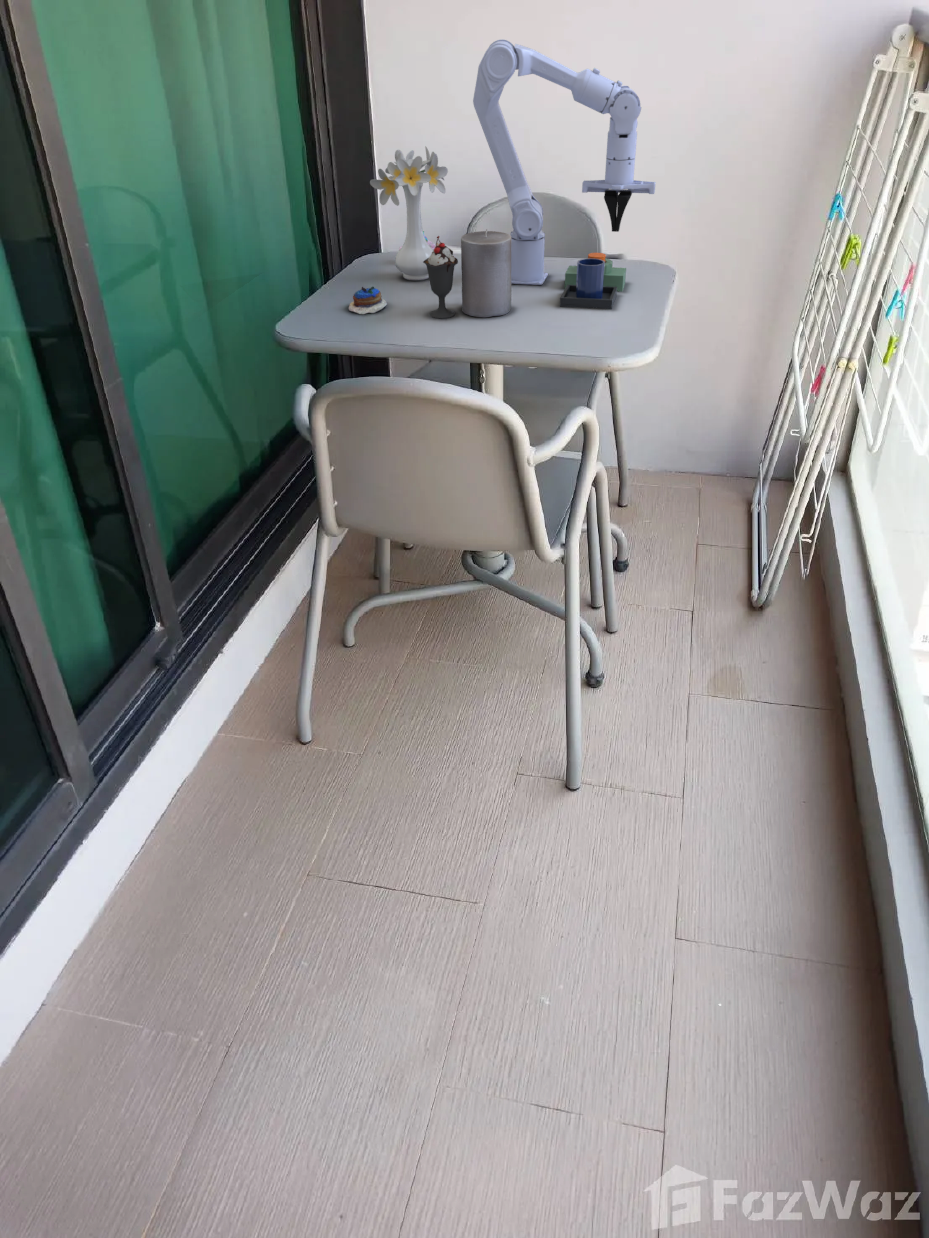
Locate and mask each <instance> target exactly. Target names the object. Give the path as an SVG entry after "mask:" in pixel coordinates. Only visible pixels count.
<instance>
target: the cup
mask: <svg viewBox="0 0 929 1238" xmlns="http://www.w3.org/2000/svg"><path fill="white" fill-rule="evenodd" d="M576 266H577V279H576V298H593V299H602V297H603V284H604V269H605V262H604V261H603V260H600V259H592V258H589V259H586V258H582V259H579V260H578V261H577V263H576Z"/></svg>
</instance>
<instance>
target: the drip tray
mask: <svg viewBox="0 0 929 1238" xmlns="http://www.w3.org/2000/svg"><path fill="white" fill-rule="evenodd" d="M617 293H618V291H617V287H610V286H603V297H602V299H593V298H576V285H567V286H566V288H565V287H564V290H563V292H562V294H561V295H560V298H559V300H560V301H559V308H575V309H595V310H613V307H614V304H615V301H616V299H617V295H618V294H617Z"/></svg>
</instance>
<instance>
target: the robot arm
mask: <svg viewBox="0 0 929 1238" xmlns="http://www.w3.org/2000/svg"><path fill="white" fill-rule="evenodd" d="M516 70H518V71H517V77H522V76H523V77H525V76H529V75H535V76H538V77H540V78H542V79H545V80H547V81H549V82H551V83H553V84H556V85H558V86H560V87H562V88H565V89H567V90H569V91H571V95H572V98H573V101H575V102H576V103H578V104H581V105H583V106H585V107H587V108H588V109H591V110H593V111H595V112H598V113H600V114H602V115H606V114H609V115H610V117H609V127H608V132H607V139H606V154H605V174H604V179H595V180H591V179H590V180H583V181H582V186H581V193H582V194H583V193H585V194H586V193H604V195H603V199H604V203H605V205H606V207H607V211H608V214H609V217H610V224H611V232H614V233H615V232H617V233H619V232H620V228H621V222H622V219H623V216H624V214H625V210H626V208H627V206H628V204H629V201H630V200H631V197H632V195H633V194H649V195H655V194H656V184H657V182H656V181H647V180H646V181H645V180H634V178H635V166H636V153H637V143H638V141H637V140H638V131H637V129H638V125H639V123H638V118H639V116H640V114H641V112H642V106H641V100H640V98H639V96H638V94H637V93H636V91H635V90H634V89H632V88H630V86H629V85H623V82H622V81H620V80H617V81H614V80H612V79H610V78H608V77H606V76H604V75H603V74H601V70H600V69H598V68H596V67H594V68H593V69H590V68H585V69H583V70H581V71H575V70H573V69H572V68H569V67H568V66H566V65H564V64H562V63H561V62H558V61H556V60H555V59H553V58H551V57H549V56H547V55H546V54H543V53H542V52H540V51H537V50H536V49H533V48H530V47H529V46H525V45H521V44H518V43H515V44H513V43H512V42H511V41H509V40H507V39H497V40H495V41H493V42H492V43H490V44H489V46H488V48H487V49H486V51H485V52H484V54H483V56H482V58H481V61H480V62H479V63H478V67H477V74H476V80H475V86H474V93H473V99H472V104H473V108H474V110H475V113H476V116H477V118H478V121H479V124H480V126H481V129H482V131H483V135H484V136H485V139H486V142H487V145H488V147H489V150H490V153H491V156H492V159H493V162H494V164H495V166H496V170H497V172H498V174H499V177H500V180H501V182H502V185H503V187H504V190H505V193H506V196H507V200H508V204H509V208H510V210H511V214H512V219H511V227H512V231H511V232H510V234H509V235H510V236H511V285H514V284H515V285H531V286H532V285H534V286H542V285H543V284H544V283H545V282H546V281H545V280H547V277H548V275H549V273H548V272H545V242H546V241H545V239H546V233H545V232H544V231H543V230H542V229H543V226H544V208H543V206H542V203H540V201H539V200H538V199H537V198H536V197H535V196H534V194H533V191H532V189H531V187H530V185H529V183H528V181H527V178H526V175H525V172H524V169H523V166H522V164H521V161H520V158H519V156H518V152H517V149H516V147H515V143H514V141H513V139H512V137H511V133H510V130H509V128H508V125H507V122H506V119H505V118H504V114H503V111H502V108H501V106H500V102H499V101H500V99H501V96H502V93H503V91H504V89H505V86H506V84H507V83H508V82H509V81H510V79H511V78H512V77H513V76H514V74H515V72H516Z"/></svg>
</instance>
